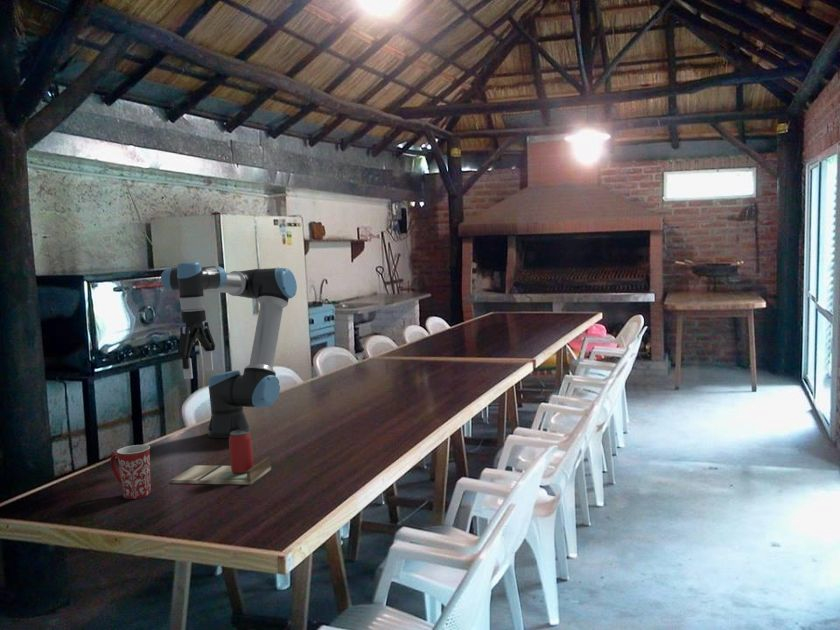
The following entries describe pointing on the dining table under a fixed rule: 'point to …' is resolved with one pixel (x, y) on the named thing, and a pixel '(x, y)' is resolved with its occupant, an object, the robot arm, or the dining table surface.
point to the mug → (133, 470)
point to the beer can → (240, 451)
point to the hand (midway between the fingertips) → (199, 374)
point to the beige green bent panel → (222, 474)
